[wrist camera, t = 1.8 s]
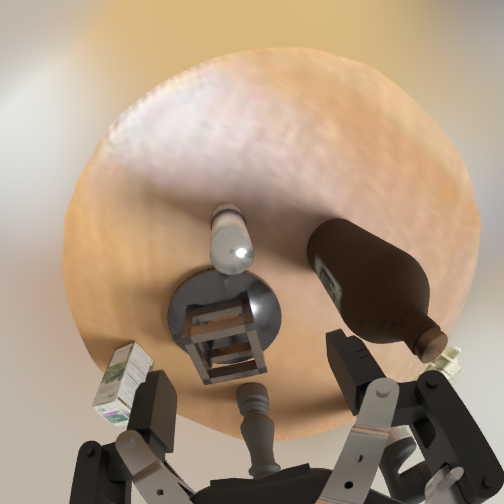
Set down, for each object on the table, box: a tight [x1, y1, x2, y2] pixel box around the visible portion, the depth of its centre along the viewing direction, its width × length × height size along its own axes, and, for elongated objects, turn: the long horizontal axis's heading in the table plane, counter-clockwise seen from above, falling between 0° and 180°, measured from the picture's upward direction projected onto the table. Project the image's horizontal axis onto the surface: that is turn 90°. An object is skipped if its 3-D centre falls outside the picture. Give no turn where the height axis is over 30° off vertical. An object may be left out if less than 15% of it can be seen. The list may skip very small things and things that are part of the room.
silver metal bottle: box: [210, 203, 254, 275], centre depth 32 cm, size 4×4×14 cm
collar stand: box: [168, 268, 281, 385], centre depth 40 cm, size 18×18×10 cm
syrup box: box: [92, 341, 154, 426], centre depth 39 cm, size 6×6×14 cm
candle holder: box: [236, 382, 281, 479], centre depth 40 cm, size 6×6×25 cm
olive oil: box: [307, 219, 448, 363], centre depth 31 cm, size 11×11×25 cm
